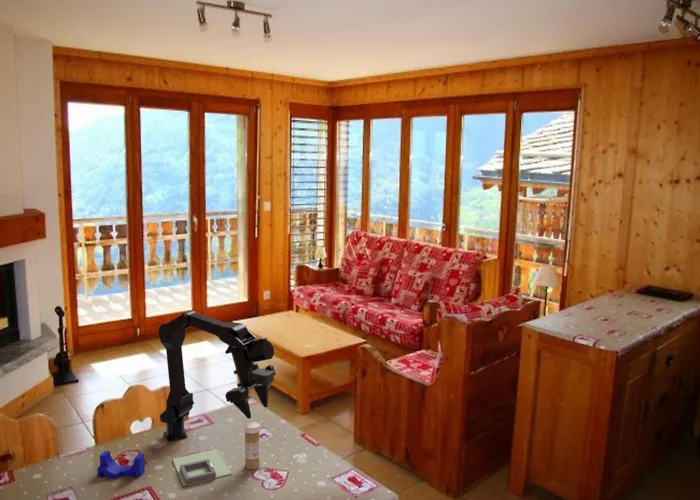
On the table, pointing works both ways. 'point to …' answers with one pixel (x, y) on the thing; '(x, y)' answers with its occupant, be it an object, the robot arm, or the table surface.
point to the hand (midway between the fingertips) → (258, 412)
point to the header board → (201, 467)
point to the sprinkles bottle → (252, 445)
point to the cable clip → (119, 467)
